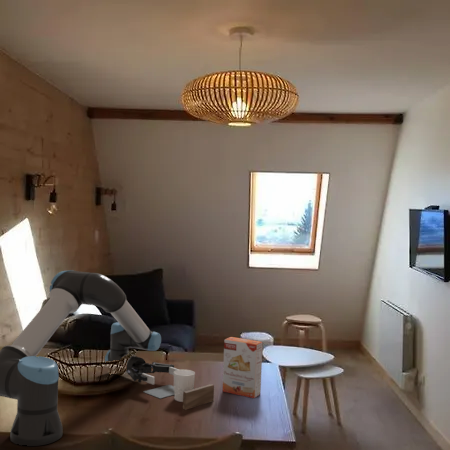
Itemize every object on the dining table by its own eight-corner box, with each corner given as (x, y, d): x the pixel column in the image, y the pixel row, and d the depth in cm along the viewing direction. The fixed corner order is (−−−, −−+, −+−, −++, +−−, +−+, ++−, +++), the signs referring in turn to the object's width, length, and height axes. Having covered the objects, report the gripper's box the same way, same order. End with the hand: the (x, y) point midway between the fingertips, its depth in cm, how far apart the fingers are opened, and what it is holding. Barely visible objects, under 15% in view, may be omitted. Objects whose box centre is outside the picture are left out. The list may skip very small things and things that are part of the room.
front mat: (186, 391, 221) (186, 390, 221) (160, 398, 211) (160, 398, 211) (169, 385, 228) (169, 384, 228) (143, 392, 218) (143, 391, 218)
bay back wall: (213, 400, 211) (214, 384, 211) (185, 409, 201) (186, 392, 201) (210, 399, 212) (211, 383, 212) (182, 408, 202) (183, 391, 202)
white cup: (190, 403, 208) (191, 376, 207) (170, 401, 209) (171, 374, 209) (196, 396, 215) (197, 370, 215) (176, 394, 217) (177, 368, 217)
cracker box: (221, 392, 222) (223, 338, 221) (228, 388, 227) (230, 336, 226) (254, 399, 215) (256, 344, 214) (261, 394, 220) (263, 341, 220)
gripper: (156, 368, 242) (191, 380, 228) (107, 380, 224) (141, 393, 210) (157, 351, 242) (191, 361, 228) (108, 361, 224) (142, 373, 209)
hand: (167, 377), depth 219 cm, fingers open, 13 cm apart
